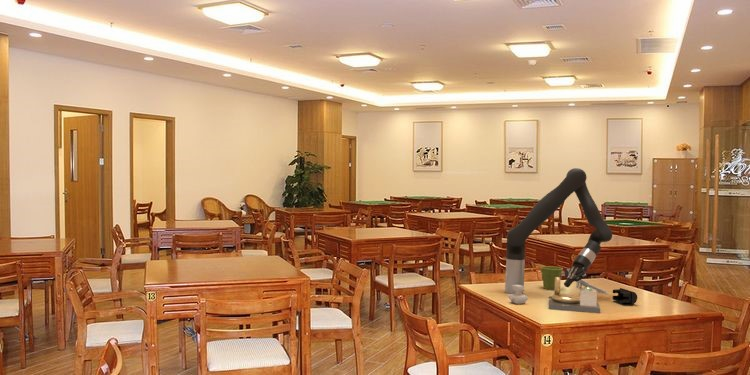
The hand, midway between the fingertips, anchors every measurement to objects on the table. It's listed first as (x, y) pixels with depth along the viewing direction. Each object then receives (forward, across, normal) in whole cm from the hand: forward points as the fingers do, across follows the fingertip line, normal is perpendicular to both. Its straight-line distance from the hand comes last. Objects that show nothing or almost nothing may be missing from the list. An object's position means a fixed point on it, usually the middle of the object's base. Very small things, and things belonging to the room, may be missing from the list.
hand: (565, 286), depth 307 cm
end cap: (-11, +15, +22) cm, 29 cm away
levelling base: (+9, +10, +1) cm, 14 cm away
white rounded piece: (+23, -6, -12) cm, 26 cm away
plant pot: (-8, -28, +18) cm, 34 cm away
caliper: (-19, -15, +31) cm, 39 cm away
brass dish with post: (+8, +6, 0) cm, 10 cm away
